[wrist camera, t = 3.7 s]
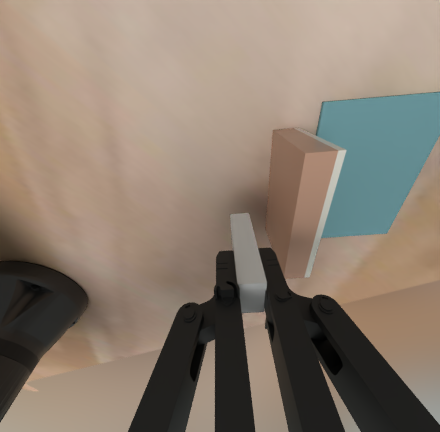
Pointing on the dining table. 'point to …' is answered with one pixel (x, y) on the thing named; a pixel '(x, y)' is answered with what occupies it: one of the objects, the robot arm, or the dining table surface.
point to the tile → (300, 196)
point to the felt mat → (377, 157)
